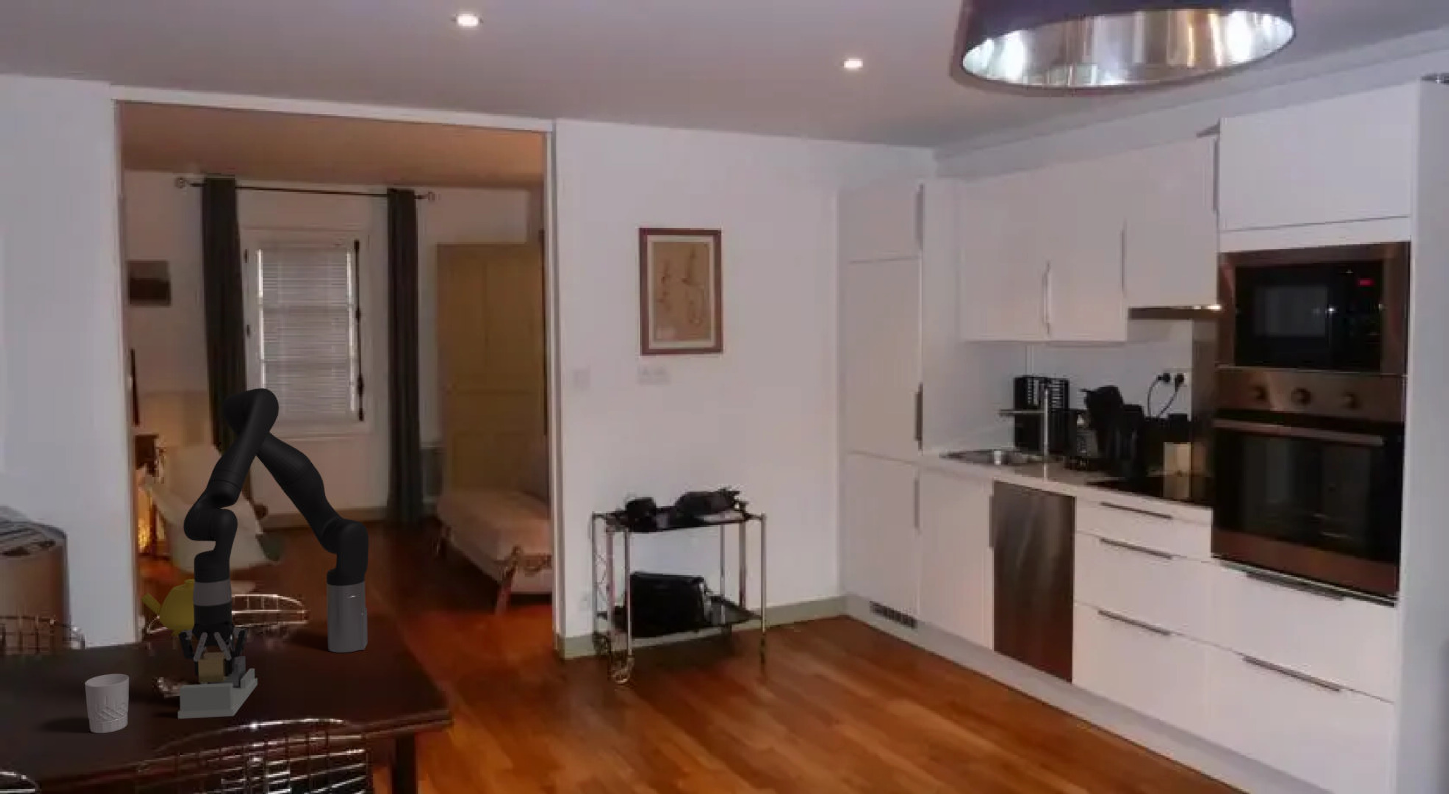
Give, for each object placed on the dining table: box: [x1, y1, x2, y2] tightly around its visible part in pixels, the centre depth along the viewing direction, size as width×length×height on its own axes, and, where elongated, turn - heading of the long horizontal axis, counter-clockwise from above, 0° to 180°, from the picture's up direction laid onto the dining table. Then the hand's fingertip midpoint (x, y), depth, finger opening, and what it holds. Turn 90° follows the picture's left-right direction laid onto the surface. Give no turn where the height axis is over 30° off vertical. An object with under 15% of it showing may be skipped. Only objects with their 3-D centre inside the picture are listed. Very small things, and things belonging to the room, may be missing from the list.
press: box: [177, 668, 258, 720], centre depth 242 cm, size 21×11×6 cm, turn 9°
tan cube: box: [198, 651, 227, 684], centre depth 239 cm, size 5×5×5 cm
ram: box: [210, 633, 247, 686], centre depth 248 cm, size 6×6×11 cm
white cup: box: [84, 673, 130, 734], centre depth 226 cm, size 8×8×10 cm
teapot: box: [140, 578, 195, 637], centre depth 294 cm, size 20×16×14 cm
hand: (214, 676), depth 239 cm, fingers closed on tan cube, 5 cm apart
